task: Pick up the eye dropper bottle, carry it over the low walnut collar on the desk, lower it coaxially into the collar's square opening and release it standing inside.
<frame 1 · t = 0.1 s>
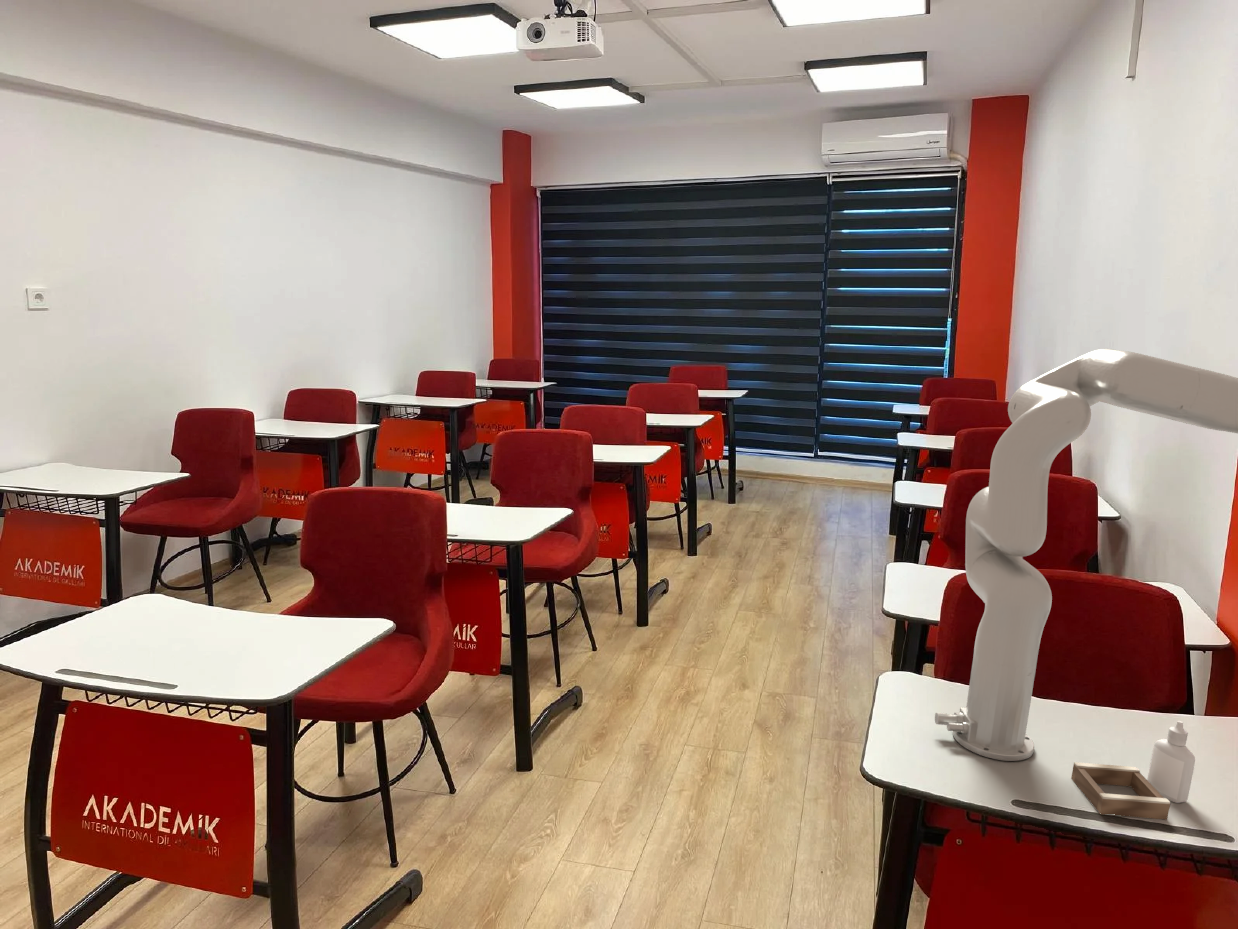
eye dropper bottle: (1165, 794, 133), on the table
walnut collar: (1117, 798, 131), on the table
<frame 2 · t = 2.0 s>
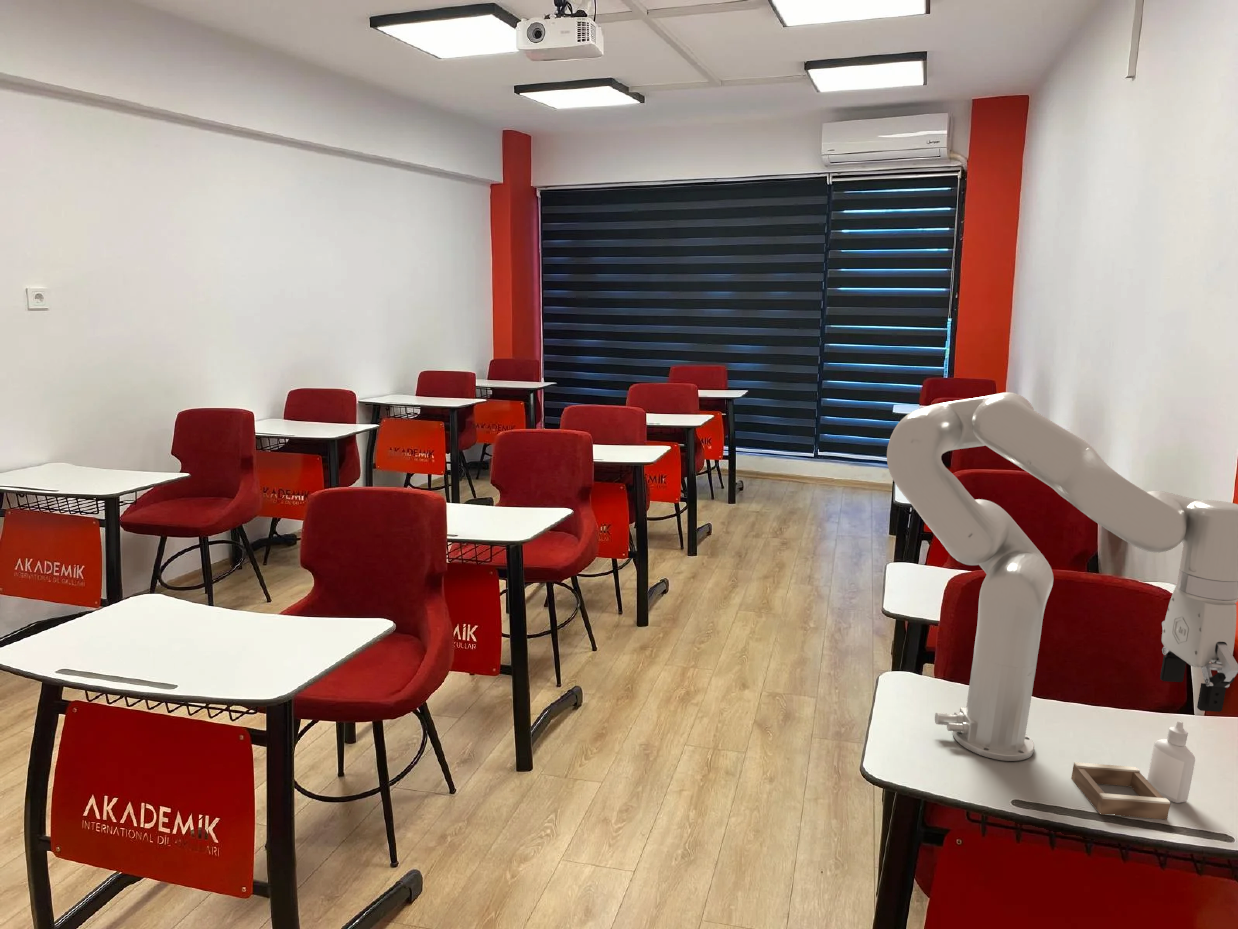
hand: (1189, 695, 130), 16 cm above the table, tool pointing down, fingers open, 9 cm apart
nothing on the table moved.
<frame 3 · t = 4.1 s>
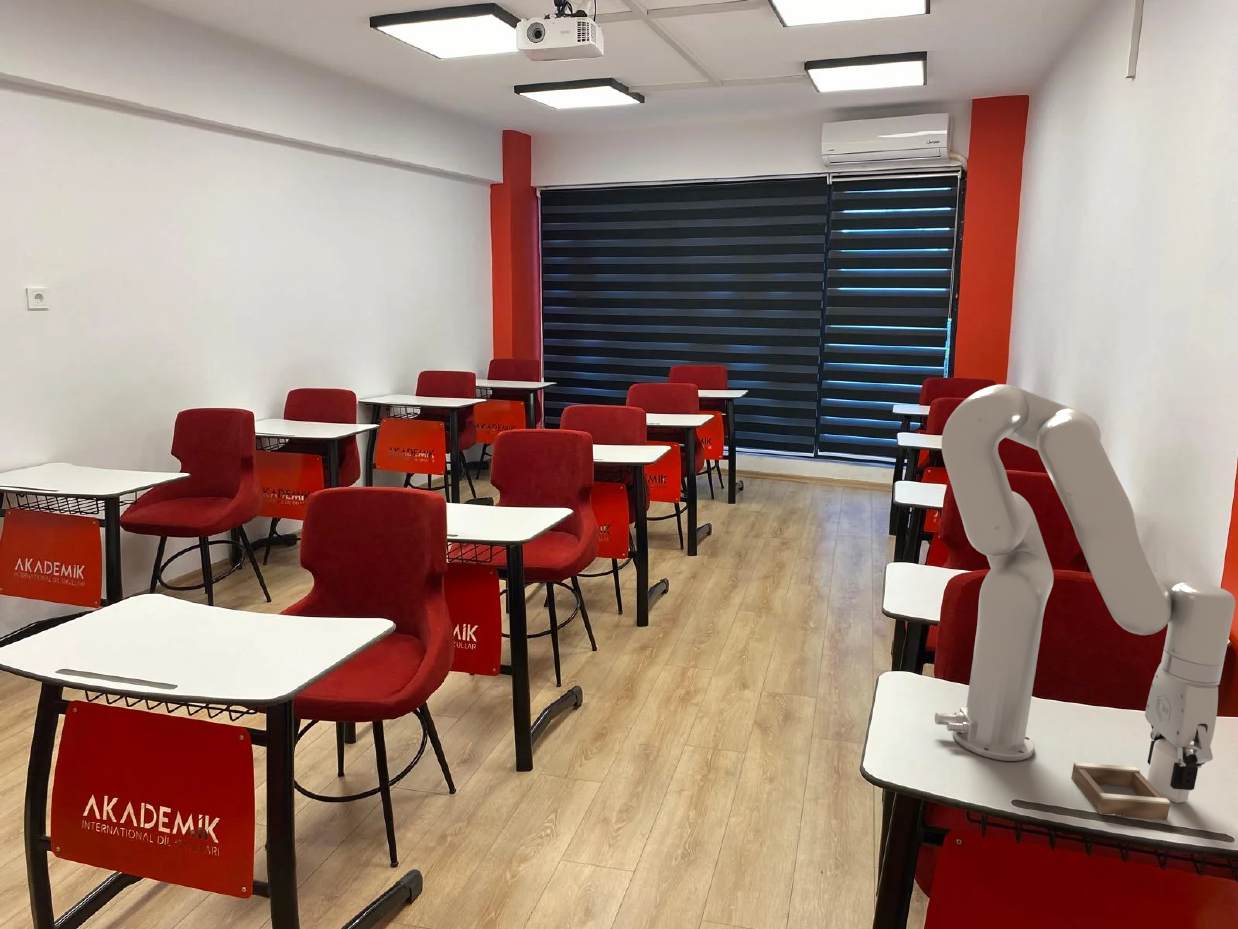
hand: (1170, 775, 133), 3 cm above the table, tool pointing down, fingers closed on eye dropper bottle, 5 cm apart
eye dropper bottle: (1166, 794, 133), on the table, touching gripper
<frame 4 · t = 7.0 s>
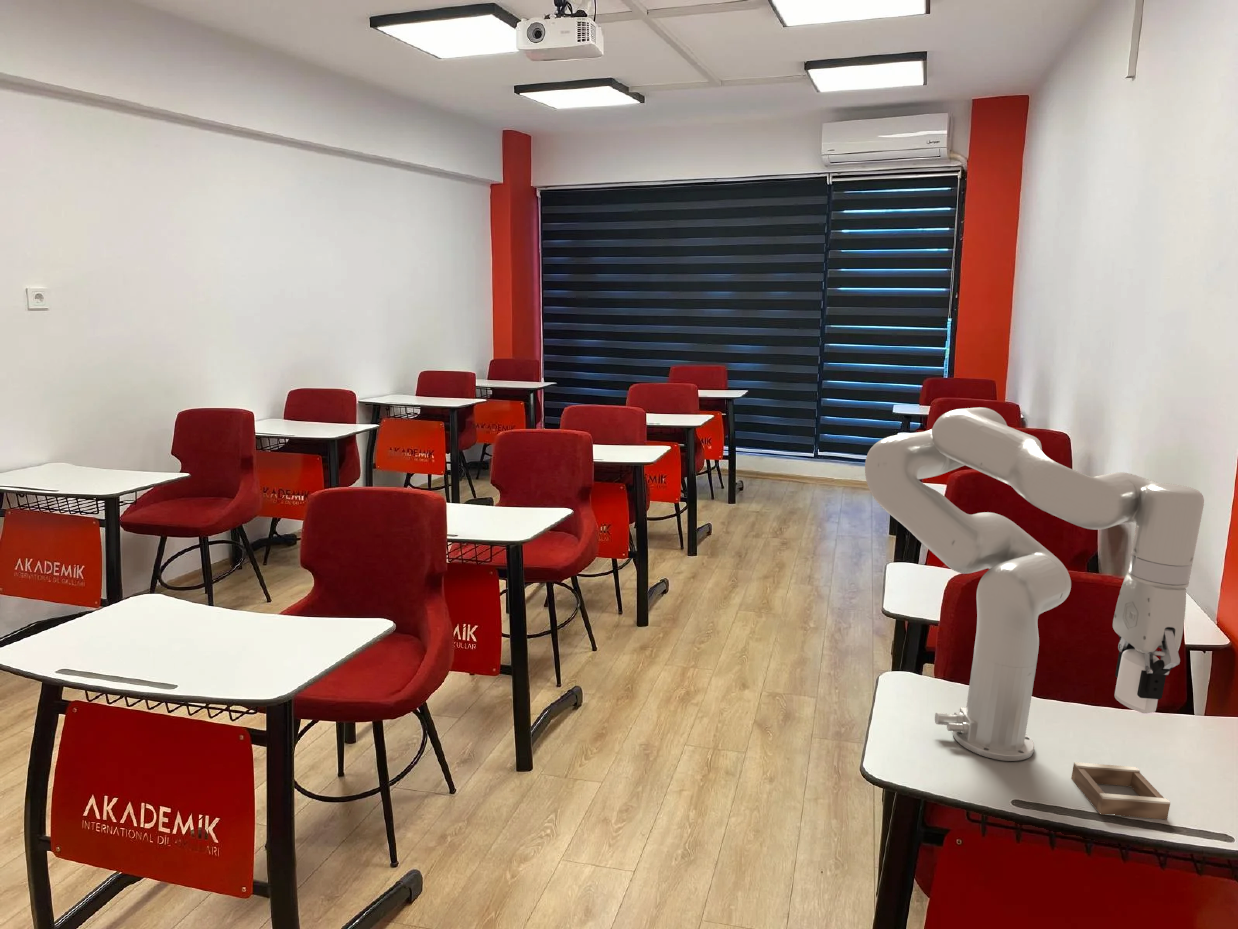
hand: (1137, 686, 128), 18 cm above the table, tool pointing down, fingers closed on eye dropper bottle, 5 cm apart
eye dropper bottle: (1134, 706, 128), point 15 cm above the table, touching gripper
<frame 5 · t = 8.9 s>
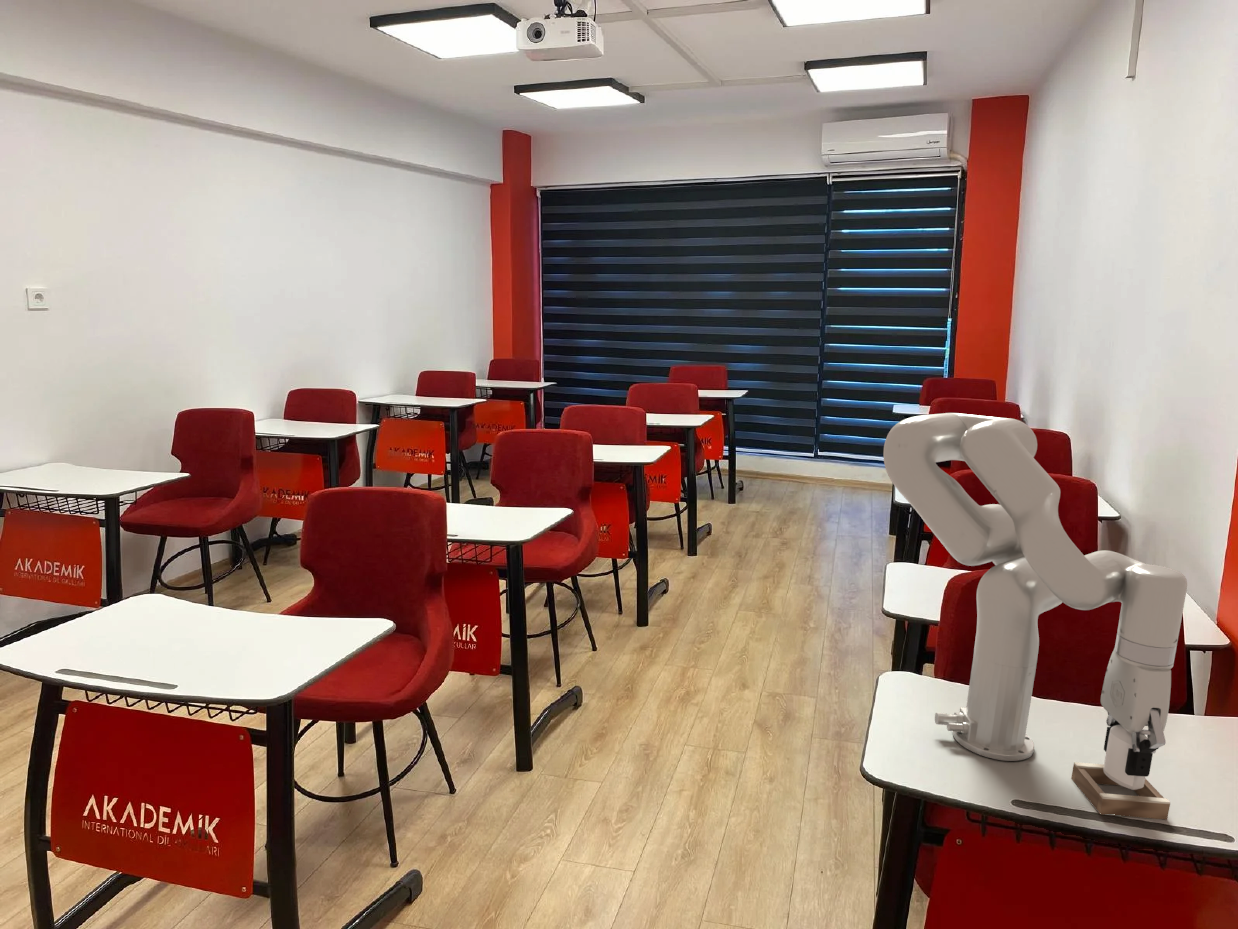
hand: (1125, 762, 130), 6 cm above the table, tool pointing down, fingers closed on eye dropper bottle, 5 cm apart
eye dropper bottle: (1122, 782, 131), point 3 cm above the table, touching gripper
when the fingers open (4 cm above the table, at t = 10.2 s): eye dropper bottle drops 1 cm, resting in walnut collar.
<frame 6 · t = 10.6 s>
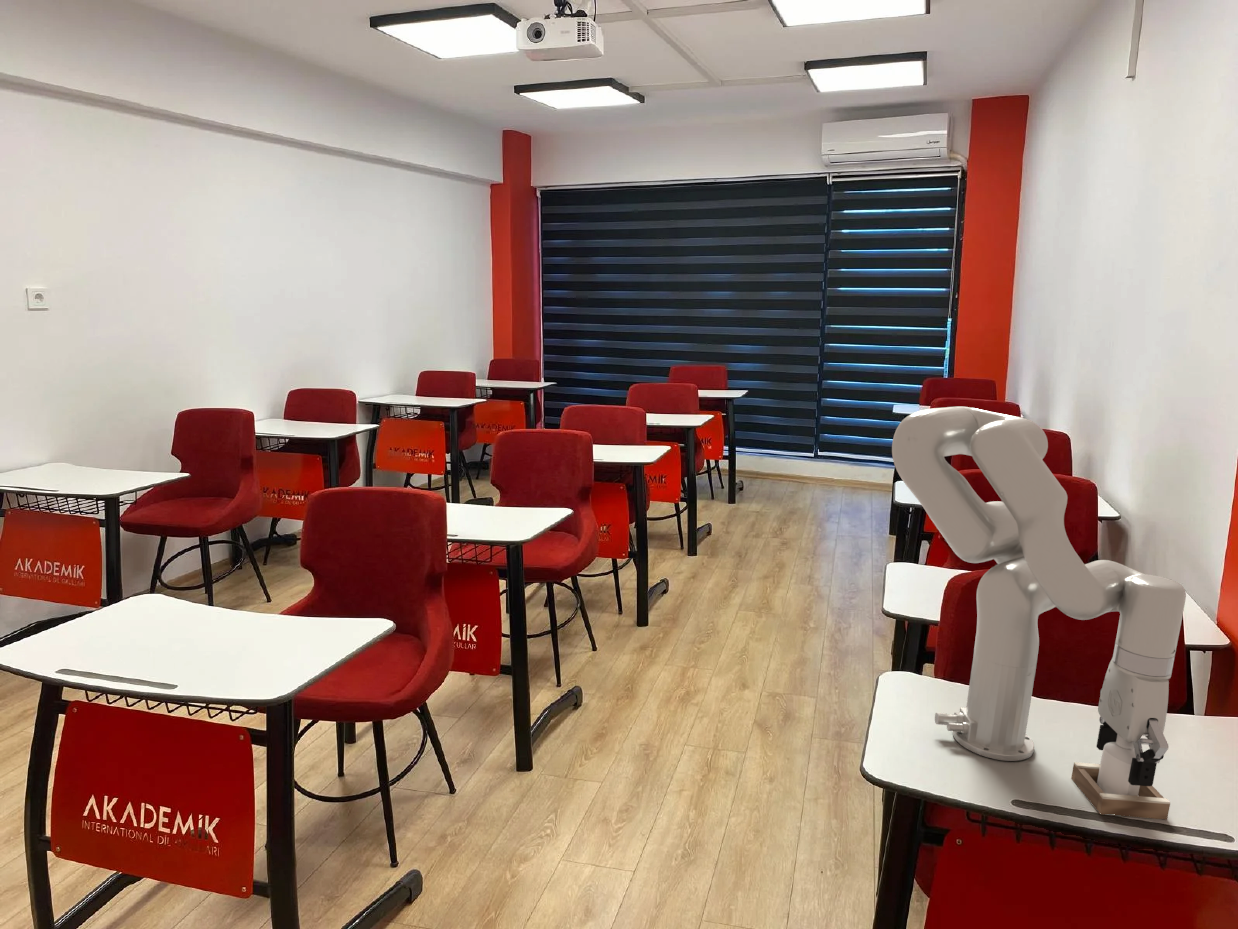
hand: (1123, 766, 130), 5 cm above the table, tool pointing down, fingers open, 9 cm apart
eye dropper bottle: (1115, 798, 132), resting in walnut collar
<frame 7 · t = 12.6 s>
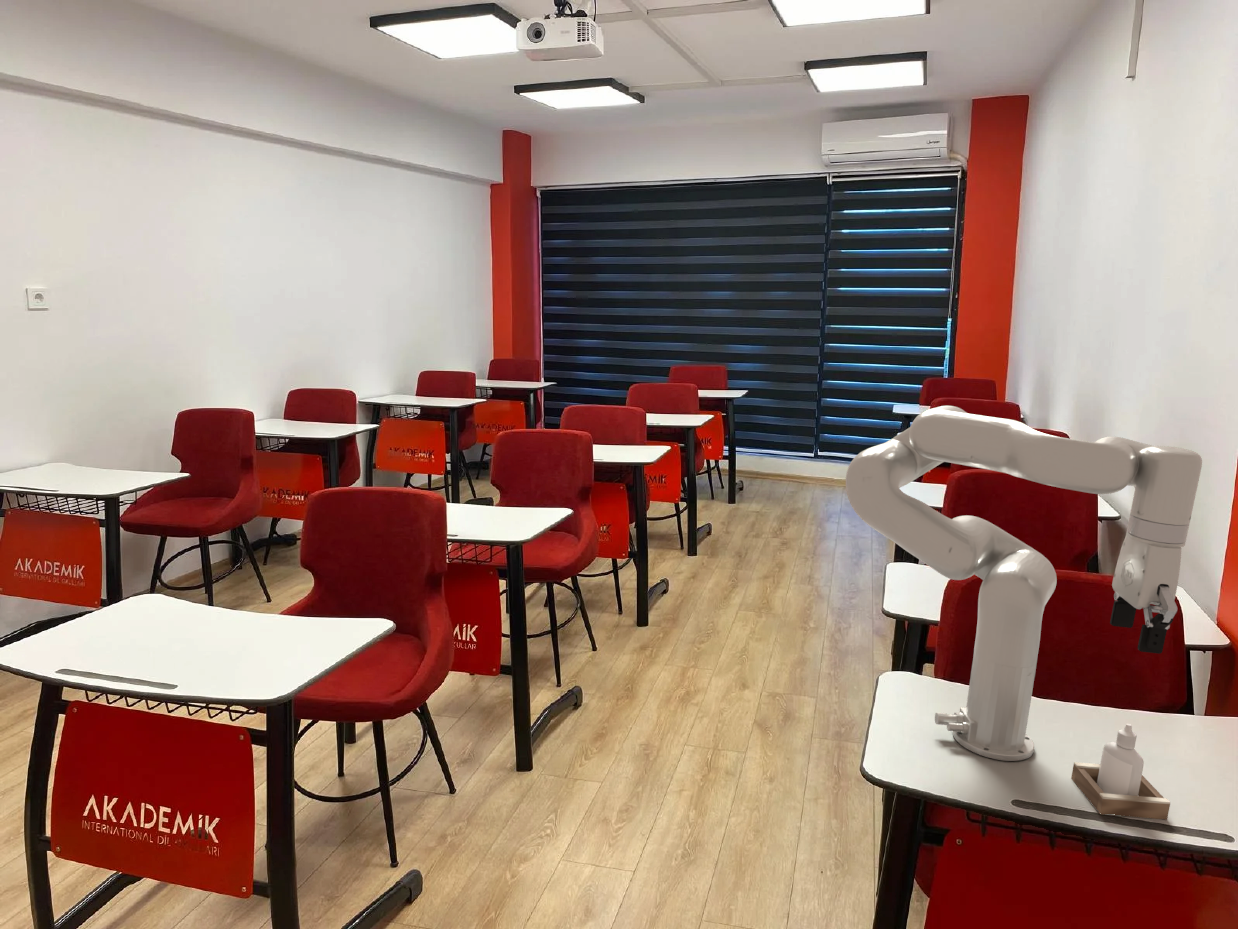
hand: (1134, 638, 132), 24 cm above the table, tool pointing down, fingers open, 9 cm apart
nothing on the table moved.
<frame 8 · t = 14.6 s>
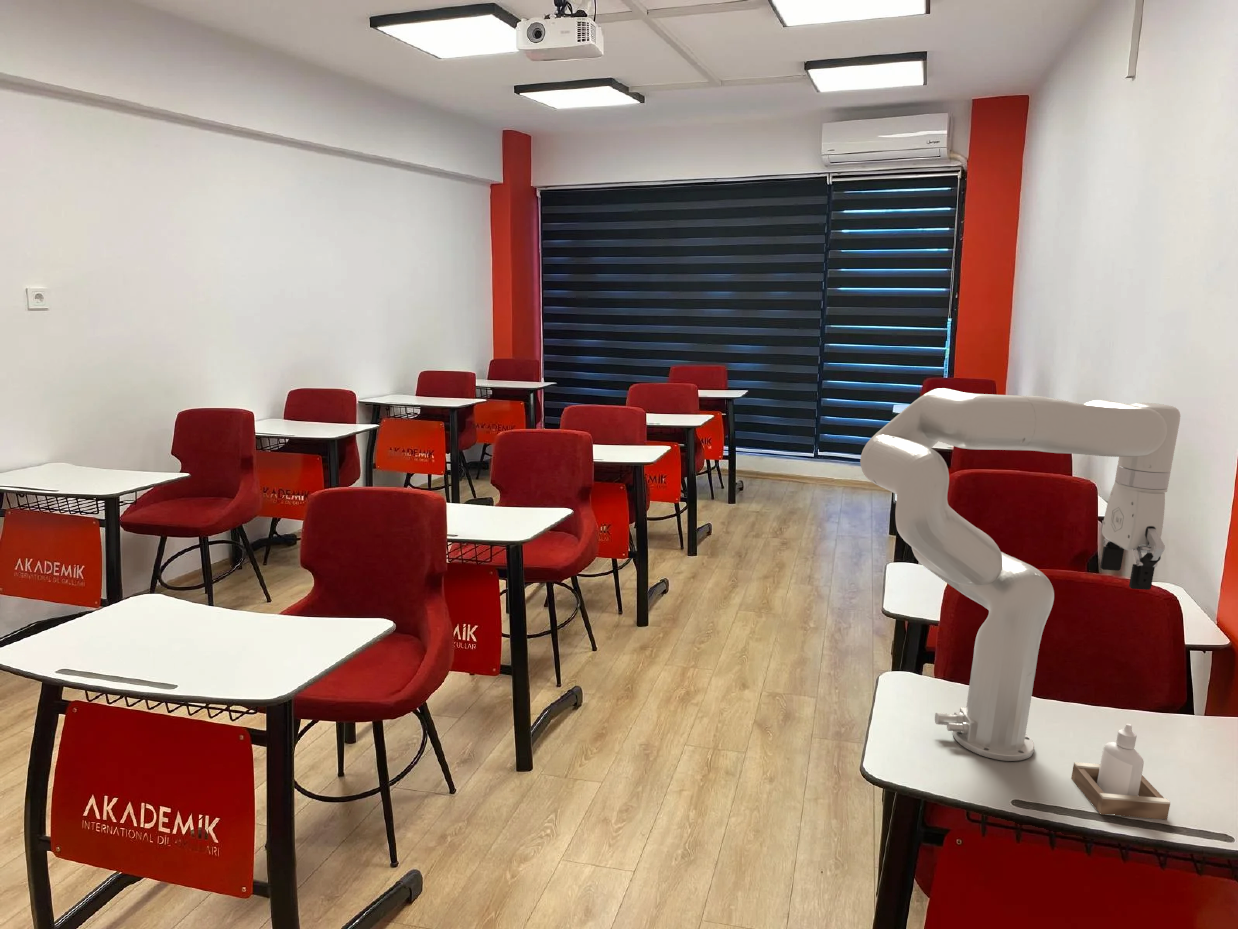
hand: (1124, 578, 145), 28 cm above the table, tool pointing down, fingers open, 9 cm apart
nothing on the table moved.
at the end: eye dropper bottle 0.3 cm off-centre on the walnut collar, point 0.0 cm above the walnut collar's base; eye dropper bottle tilted 0°; the gripper is holding nothing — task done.
